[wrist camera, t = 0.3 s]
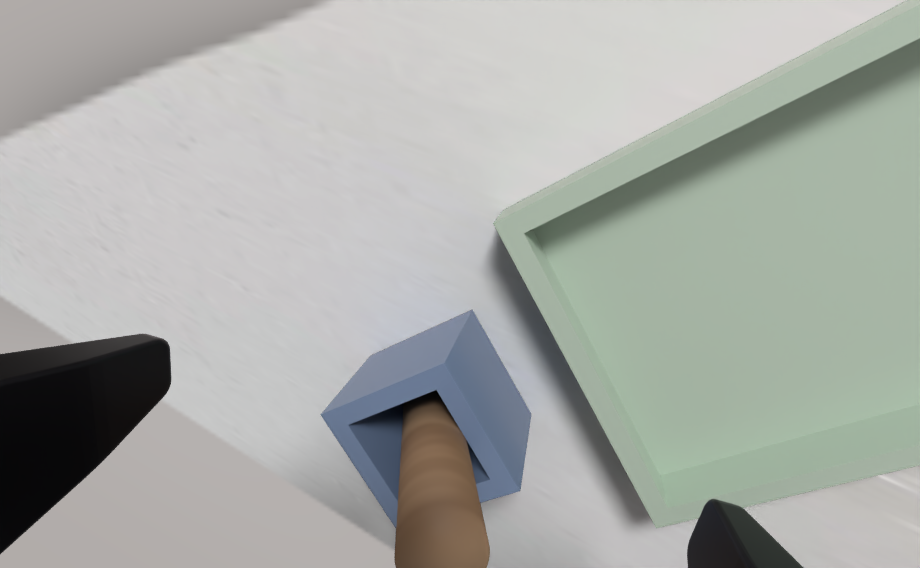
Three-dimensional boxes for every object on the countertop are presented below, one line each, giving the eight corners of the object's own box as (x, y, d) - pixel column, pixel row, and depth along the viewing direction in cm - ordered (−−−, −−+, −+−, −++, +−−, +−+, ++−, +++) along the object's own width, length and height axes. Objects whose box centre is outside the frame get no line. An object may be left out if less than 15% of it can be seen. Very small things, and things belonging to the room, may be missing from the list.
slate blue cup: (531, 414, 22) (520, 490, 18) (429, 450, 24) (395, 527, 20) (472, 309, 21) (444, 362, 17) (370, 355, 23) (320, 414, 19)
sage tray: (1370, 289, 15) (1518, 321, 12) (647, 485, 22) (656, 528, 20) (1289, -199, 12) (1458, -272, 10) (502, 210, 20) (493, 223, 17)
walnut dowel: (533, 382, 21) (501, 596, 12) (425, 423, 23) (323, 635, 14) (508, 336, 21) (453, 519, 11) (399, 381, 23) (276, 571, 13)
